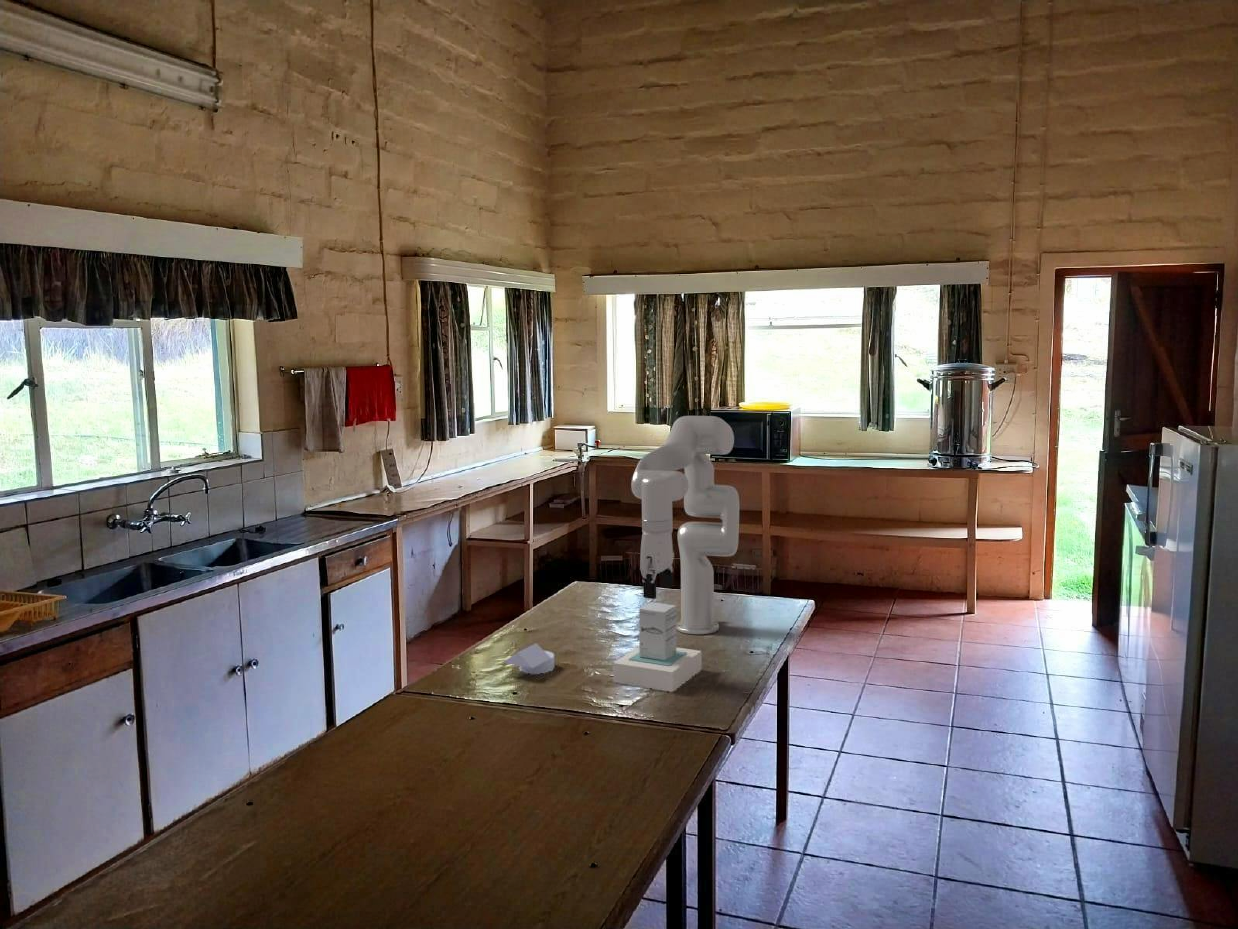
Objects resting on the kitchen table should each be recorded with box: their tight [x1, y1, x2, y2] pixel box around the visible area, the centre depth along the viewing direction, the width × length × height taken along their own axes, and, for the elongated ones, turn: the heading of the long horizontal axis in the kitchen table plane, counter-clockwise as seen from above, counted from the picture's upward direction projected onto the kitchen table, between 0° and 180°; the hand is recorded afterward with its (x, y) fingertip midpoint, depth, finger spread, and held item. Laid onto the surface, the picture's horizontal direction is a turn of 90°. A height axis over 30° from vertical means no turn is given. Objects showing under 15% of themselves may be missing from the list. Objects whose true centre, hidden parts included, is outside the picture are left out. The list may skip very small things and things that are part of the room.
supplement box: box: [638, 601, 678, 661], centre depth 245 cm, size 7×7×13 cm
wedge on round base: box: [503, 642, 555, 675], centre depth 252 cm, size 9×7×13 cm
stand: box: [612, 646, 702, 693], centre depth 246 cm, size 18×16×5 cm
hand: (658, 592), depth 245 cm, fingers open, 9 cm apart
